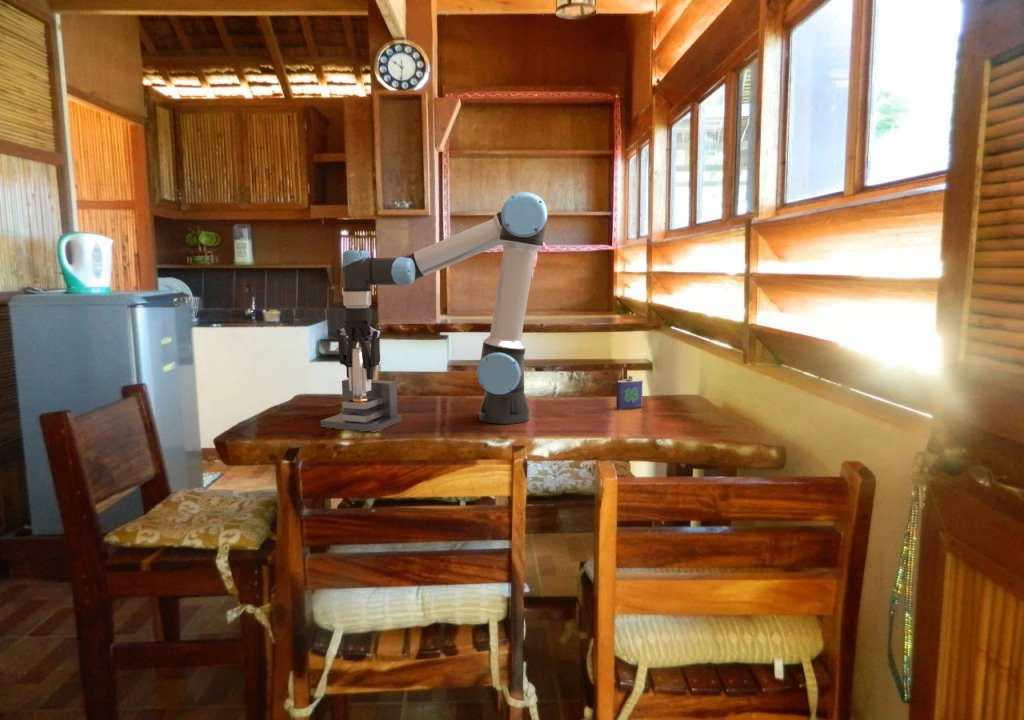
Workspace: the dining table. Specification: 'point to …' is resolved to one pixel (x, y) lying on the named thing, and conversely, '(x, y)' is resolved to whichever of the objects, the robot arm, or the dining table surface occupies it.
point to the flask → (629, 394)
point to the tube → (358, 378)
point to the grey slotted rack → (378, 406)
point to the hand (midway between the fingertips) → (360, 390)
